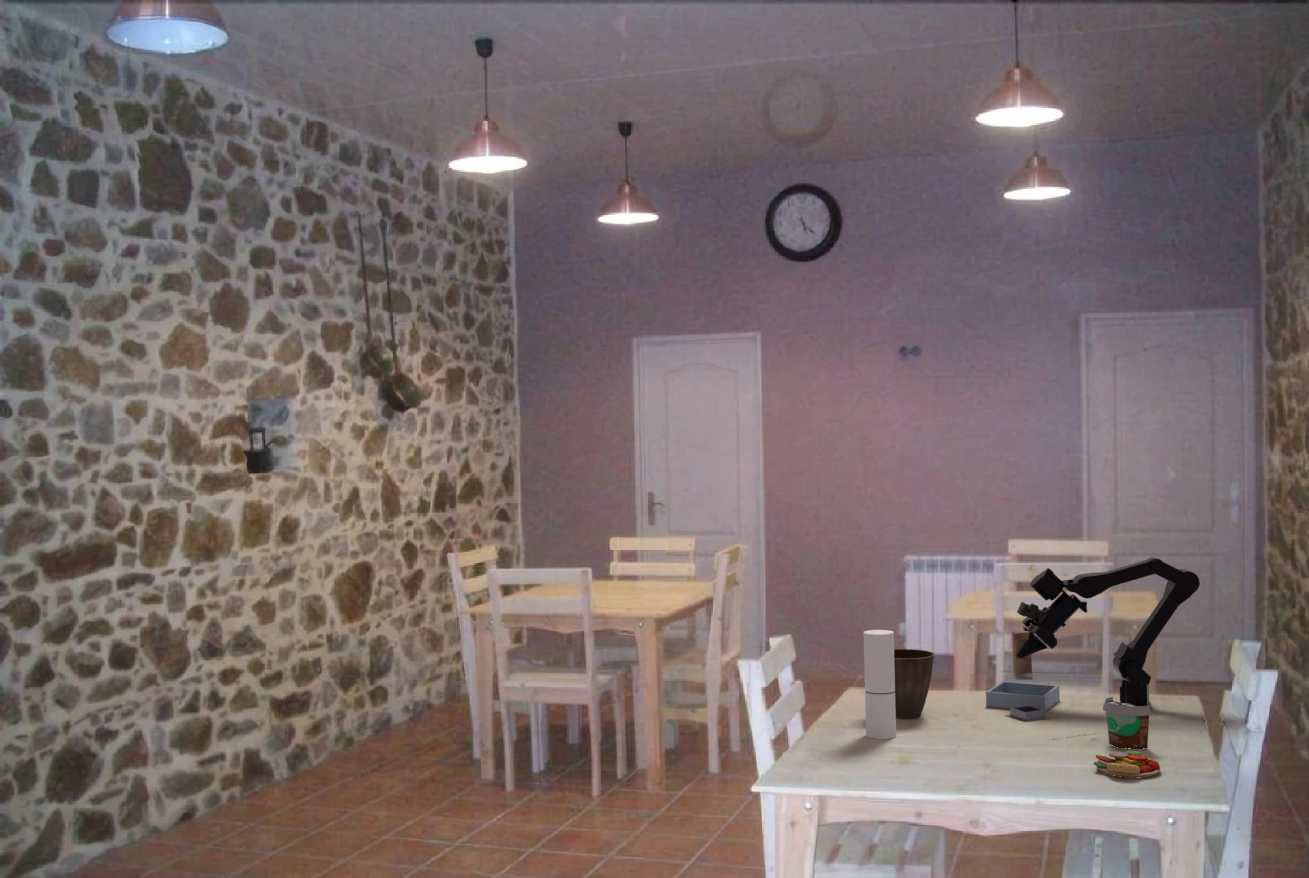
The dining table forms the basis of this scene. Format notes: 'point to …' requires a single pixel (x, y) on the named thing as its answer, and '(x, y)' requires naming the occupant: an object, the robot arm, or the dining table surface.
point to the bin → (1022, 695)
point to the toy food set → (1127, 764)
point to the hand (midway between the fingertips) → (1016, 655)
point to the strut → (1025, 663)
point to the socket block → (1027, 714)
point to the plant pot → (911, 681)
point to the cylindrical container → (879, 684)
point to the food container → (1127, 724)
